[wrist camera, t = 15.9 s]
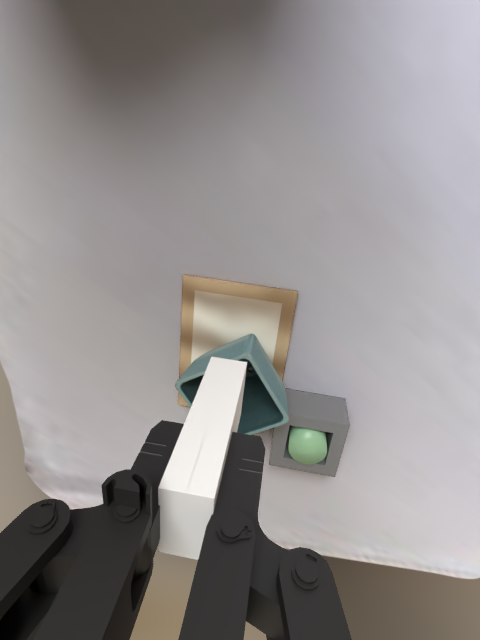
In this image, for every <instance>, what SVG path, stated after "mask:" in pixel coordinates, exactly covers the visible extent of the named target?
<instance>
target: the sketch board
mask: <svg viewBox="0 0 480 640" xmlns="http://www.w3.org/2000/svg"><path fill="white" fill-rule="evenodd" d="M297 295H298V291H294V290H287V289H280V288H273V287H266V286H260V285H253V284H246V283H239V282H232V281H225V280H219V279H212V278H205V277H198V276H191V275H183V285H182V312H181V338H180V365H179V378H180V377H181V376H182V374H183V373H184V372H185V371H186V369H187V368H188V367H189V366H190V365H191V364H192V362H193V361H194V360H196V359H197V358H198V357H200V356H201V355H203V354H205V353H207V352H209V351H211V350H213V349H216V348H218V347H220V346H223V345H225V344H227V343H230V342H232V341H234V340H237V339H239V338H241V337H244V336H246V335H248V334H254V335H255V336H256V337H257V339H258V341H259V342H260V344H261V346H262V348H263V349H264V351H265V353H266V354H267V356H268V358H269V360H270V361H271V363H272V365H273V366H274V368H275V370H276V371H277V373H278V375H279V376H280V378H281V380H283V374H284V369H285V363H286V357H287V352H288V346H289V340H290V335H291V329H292V323H293V318H294V312H295V306H296V301H297ZM248 369H249V370H250V371H251V370H253V369H252V368H248ZM178 405H183V406H188V404H187V403H186V401H185V400H184V399H183V397H182V396H181V394H180V393H179V392H178Z"/></svg>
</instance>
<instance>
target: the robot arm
mask: <svg viewBox="0 0 480 640" xmlns="http://www.w3.org/2000/svg"><path fill="white" fill-rule="evenodd" d="M246 368H247V362H243V361H236V360H230V359H224V358H218V357H211V359H210V362H209V364H208V366H207V369H206V371H205V374H204V376H203V379H202V381H201V384H200V386H199V389H198V391H197V394H196V396H195V398H194V401H193V403H192V406H191V408H190V411H189V413H188V416H187V418H186V421H185V423H184V424H180V423H175V422H169V421H163V420H162V421H161V422H159V423H158V424H157V425H156V426H155V427H154V428H152V429H151V431H150V433H149V435H148V437H147V439H146V441H145V443H144V445H143V447H142V449H141V451H140V453H139V454H138V456H137V458H136V460H135V462H134V464H133V466H132V468H131V470H123V471H119V472H116V473H115V474H113V475H111V476H110V477H108V478H107V479H106V481H105V482H104V483H103V484H102V493H103V503H104V504H102V505H99V506H96V507H91V508H83V509H74V510H69V506H68V505H67V504H66V503H64V502H63V501H61V500H57V499H46V500H42V501H39V502H37V503H35V504H32V505H31V506H30V507H28V508H27V509H25V510H24V511H23V512H22V513H21V514H20V515H19V516H18V517H17V518H16V519H15V520H14V521H12V523H10V524H9V525H8V526H7V527H6V528H5V529H4V530H3V531H2V532H1V533H0V640H129V639H130V636H131V633H132V630H133V628H134V624H135V622H136V619H137V616H138V613H139V610H140V607H141V604H142V601H143V598H144V595H145V592H146V589H147V586H148V583H149V580H150V577H151V574H152V569H153V557H154V554H155V551H156V549H157V546H158V543H159V552H163V553H167V554H172V555H177V556H182V557H186V558H192V559H196V560H198V563H197V567H196V571H195V575H194V579H193V583H192V587H191V592H190V595H189V599H188V603H187V607H186V611H185V616H184V620H183V624H182V628H181V632H180V636H179V640H243V638H244V631H245V622H246V621H247V622H249V623H250V624H251V625H253V626H255V627H256V628H257V629H259V630H260V631H262V632H263V633H265V634H266V637H267V640H352V639H351V636H350V632H349V629H348V625H347V622H346V619H345V615H344V612H343V608H342V605H341V602H340V598H339V595H338V591H337V588H336V585H335V581H334V577H333V574H332V572H331V570H330V567H329V565H328V563H327V562H326V561H325V560H324V559H323V558H322V556H321V555H320V554H318V553H316V552H314V551H313V550H311V549H307V548H301V547H299V548H295V549H291V550H290V551H287V550H285V549H284V548H282V547H280V546H278V545H277V544H275V543H274V542H272V541H271V540H269V539H268V538H267V537H266V535H265V534H264V533H263V531H262V530H261V528H260V526H259V522H258V506H259V498H260V489H261V481H262V472H263V463H264V455H265V447H264V444H263V442H262V439H261V437H259V436H254V435H248V434H242V433H237V430H238V425H239V421H240V416H241V410H242V401H243V393H244V385H245V376H246Z"/></svg>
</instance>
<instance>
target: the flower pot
mask: <svg viewBox="0 0 480 640" xmlns="http://www.w3.org/2000/svg"><path fill="white" fill-rule="evenodd" d="M211 357H218V358H224V359H230V360H236V361H243V362H247V368H246V376H245V385H244V393H243V401H242V410H241V416H240V421H239V425H238V430H237V433H242V434H248V435H253V434H256V433H259V432H262V431H265V430H268V429H271V428H274V427H278V426H281V425H283V424H286V423H287V422H288V421H289V416H288V407H287V399H286V392H285V388H284V385H283V382H282V380H281V378H280V376H279V375H278V373H277V371H276V370H275V368H274V366H273V365H272V363H271V361H270V360H269V358H268V356H267V354H266V353H265V351H264V349H263V348H262V346H261V344H260V342H259V341H258V339H257V337H256V336H255V335H254V334H248V335H246V336H244V337H241V338H239V339H237V340H234V341H232V342H230V343H227V344H225V345H223V346H220V347H218V348H216V349H213V350H211V351H209V352H207V353H205V354H203V355H201V356H200V357H198V358H197V359H196V360H194V361H193V362H192V364H191V365H190V366H189V367H188V368H187V369H186V371H185V372H184V373H183V374H182V376H181V377H180V378H179V379H178V380H177V382H176V383H175V387H176V389H177V390H178V392H179V393H180V394H181V396H182V397H183V399H184V400H185V401H186V403H187V404H188V406H189V407H190V408H191V406H192V403H193V401H194V398H195V396H196V394H197V391H198V389H199V386H200V384H201V381H202V379H203V376H204V374H205V371H206V369H207V366H208V364H209V362H210V359H211ZM248 368H252V369H253V370H251V371H250V370H249V369H248Z"/></svg>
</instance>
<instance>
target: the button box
mask: <svg viewBox="0 0 480 640" xmlns="http://www.w3.org/2000/svg"><path fill="white" fill-rule="evenodd" d="M285 392H286V399H287V407H288V416H289V421H288V422H287V423H286V424H283V425H281V426H278V427H274V429H273V435H272V444H271V453H270V462H269V465H274V466H280V467H285V468H290V469H295V470H301V471H306V472H311V473H316V474H321V475H327V476H332V477H335V475H336V472H337V468H338V465H339V461H340V458H341V454H342V450H343V447H344V443H345V440H346V436H347V433H348V429H349V426H350V424H349V418H348V412H347V406H346V400H345V398H339V397H333V396H327V395H321V394H315V393H310V392H304V391H298V390H292V389H286V388H285ZM290 425H291V426H296V427H302V428H307V429H313V430H318V431H324V432H326V442H327V454H326V456H325V458H324V459H323V460H322V461H320V462H318V463H316V464H302V463H299V462H297V461H296V460H294V459H293V458H292V457H291V455H290V453H289V449H288V448H289V426H290Z"/></svg>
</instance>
